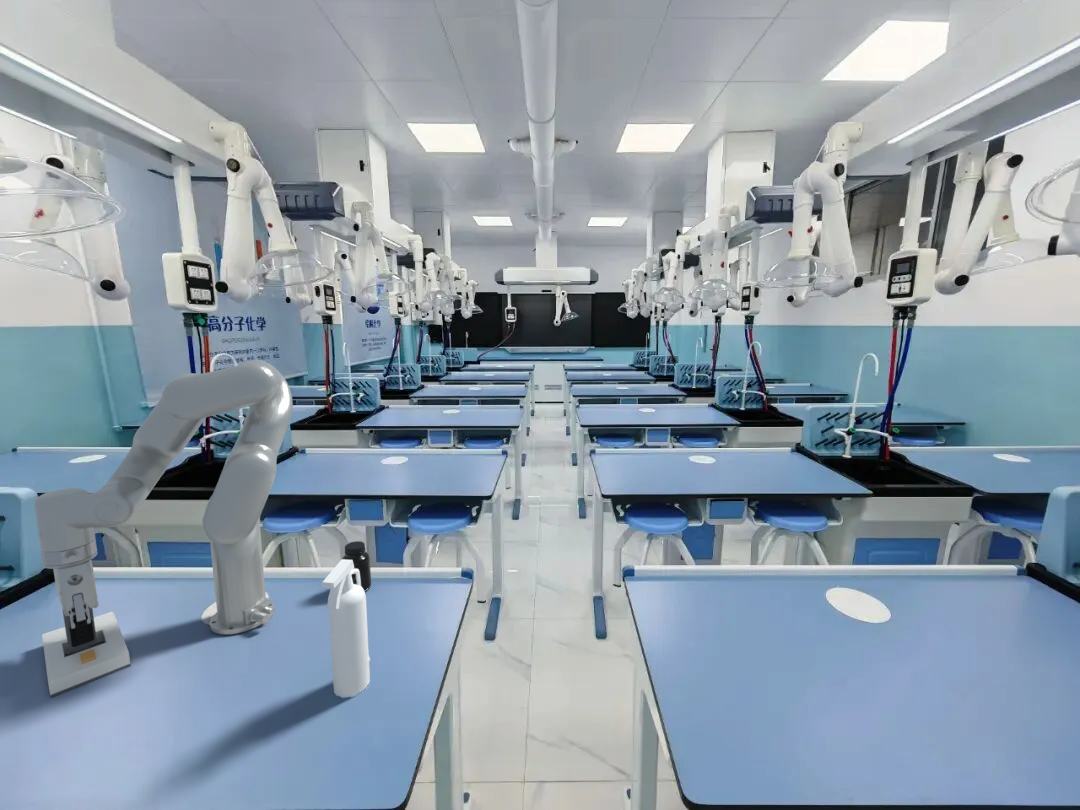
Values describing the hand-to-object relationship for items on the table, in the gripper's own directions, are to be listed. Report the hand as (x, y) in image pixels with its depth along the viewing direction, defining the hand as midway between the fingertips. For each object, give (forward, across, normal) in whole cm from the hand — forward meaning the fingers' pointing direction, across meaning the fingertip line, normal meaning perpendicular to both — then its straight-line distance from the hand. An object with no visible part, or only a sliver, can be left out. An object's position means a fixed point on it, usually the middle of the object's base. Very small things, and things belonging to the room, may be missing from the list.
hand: (82, 637), depth 94 cm
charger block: (+1, 0, 0) cm, 1 cm away
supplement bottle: (+4, -16, -50) cm, 52 cm away
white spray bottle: (+4, -47, -33) cm, 57 cm away
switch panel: (+4, 0, 0) cm, 4 cm away
